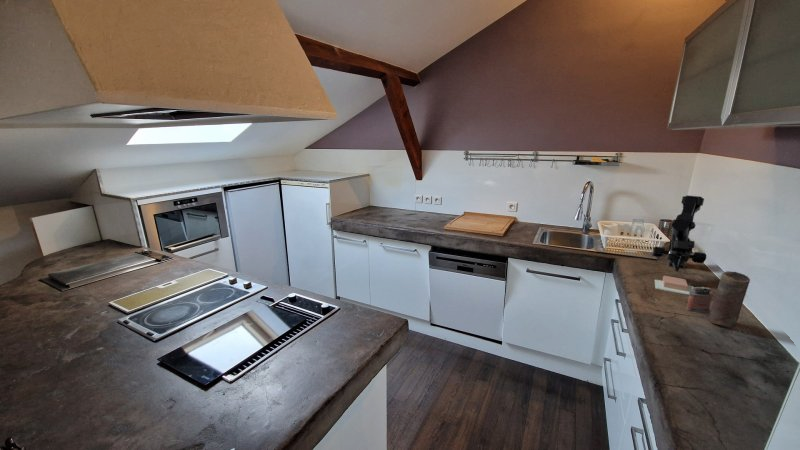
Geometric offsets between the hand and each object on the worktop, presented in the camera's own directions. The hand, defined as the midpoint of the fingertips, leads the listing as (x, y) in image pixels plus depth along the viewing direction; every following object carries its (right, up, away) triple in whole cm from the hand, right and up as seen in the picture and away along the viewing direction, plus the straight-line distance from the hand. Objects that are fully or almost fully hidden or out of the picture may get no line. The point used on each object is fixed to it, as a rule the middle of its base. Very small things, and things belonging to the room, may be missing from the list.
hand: (676, 271), depth 150 cm
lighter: (-7, -13, -18) cm, 24 cm away
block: (+2, -5, +3) cm, 6 cm away
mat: (-2, -8, -1) cm, 8 cm away
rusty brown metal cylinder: (-7, -16, -28) cm, 33 cm away
